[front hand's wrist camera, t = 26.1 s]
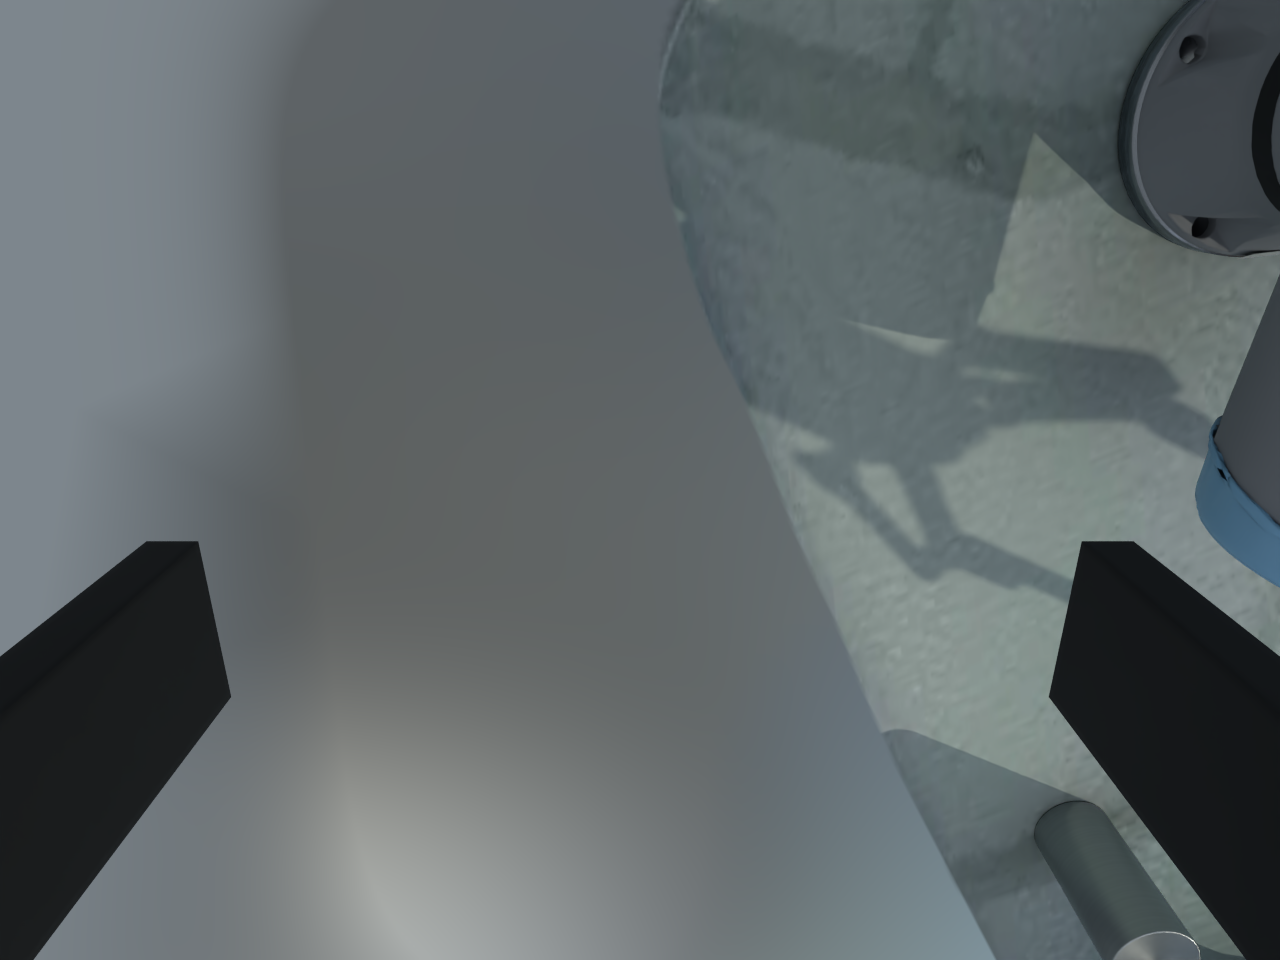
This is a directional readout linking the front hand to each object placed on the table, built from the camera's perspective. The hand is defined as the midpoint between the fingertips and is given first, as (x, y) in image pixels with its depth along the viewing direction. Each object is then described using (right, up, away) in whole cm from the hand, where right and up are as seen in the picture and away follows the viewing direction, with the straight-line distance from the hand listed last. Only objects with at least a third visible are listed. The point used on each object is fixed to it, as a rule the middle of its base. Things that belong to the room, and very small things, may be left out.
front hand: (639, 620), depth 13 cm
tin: (+34, -26, +54) cm, 69 cm away
